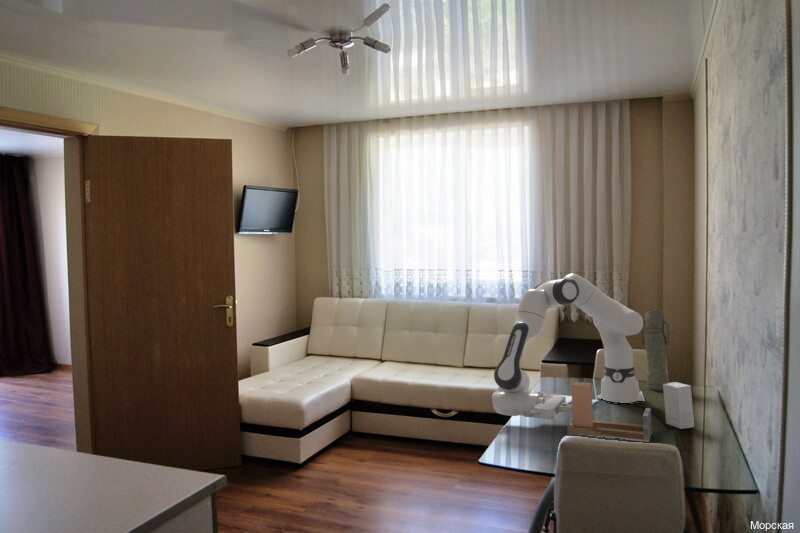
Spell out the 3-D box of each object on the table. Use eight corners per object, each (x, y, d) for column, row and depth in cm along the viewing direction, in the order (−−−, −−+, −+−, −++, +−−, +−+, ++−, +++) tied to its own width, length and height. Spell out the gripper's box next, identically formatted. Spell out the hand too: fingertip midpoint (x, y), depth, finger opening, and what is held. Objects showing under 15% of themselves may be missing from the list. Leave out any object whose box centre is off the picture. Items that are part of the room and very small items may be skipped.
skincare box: (694, 427, 209) (693, 385, 209) (679, 429, 208) (678, 387, 208) (678, 421, 217) (676, 380, 217) (664, 423, 216) (662, 382, 216)
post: (576, 425, 216) (574, 382, 215) (593, 427, 213) (591, 383, 212) (573, 429, 211) (571, 385, 211) (590, 431, 208) (588, 386, 208)
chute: (573, 426, 219) (572, 402, 218) (651, 433, 206) (650, 408, 206) (567, 434, 210) (566, 409, 210) (648, 441, 197) (647, 416, 197)
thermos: (671, 391, 260) (668, 311, 259) (642, 389, 265) (639, 311, 265) (672, 386, 268) (669, 309, 267) (644, 385, 273) (641, 309, 272)
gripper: (526, 404, 211) (566, 407, 204) (541, 390, 229) (578, 392, 222) (527, 421, 211) (566, 425, 204) (542, 406, 229) (579, 409, 222)
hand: (573, 408), depth 213 cm, fingers closed
